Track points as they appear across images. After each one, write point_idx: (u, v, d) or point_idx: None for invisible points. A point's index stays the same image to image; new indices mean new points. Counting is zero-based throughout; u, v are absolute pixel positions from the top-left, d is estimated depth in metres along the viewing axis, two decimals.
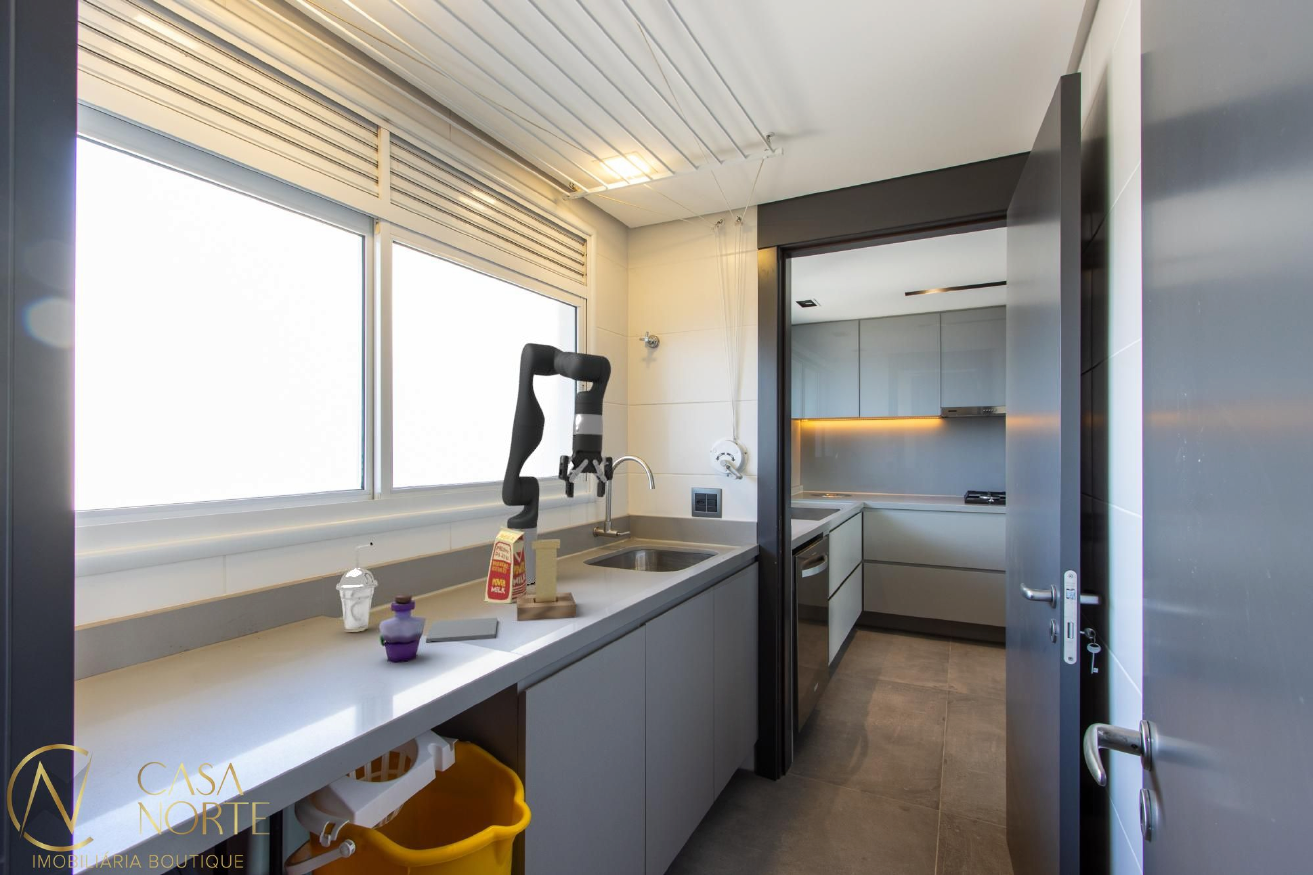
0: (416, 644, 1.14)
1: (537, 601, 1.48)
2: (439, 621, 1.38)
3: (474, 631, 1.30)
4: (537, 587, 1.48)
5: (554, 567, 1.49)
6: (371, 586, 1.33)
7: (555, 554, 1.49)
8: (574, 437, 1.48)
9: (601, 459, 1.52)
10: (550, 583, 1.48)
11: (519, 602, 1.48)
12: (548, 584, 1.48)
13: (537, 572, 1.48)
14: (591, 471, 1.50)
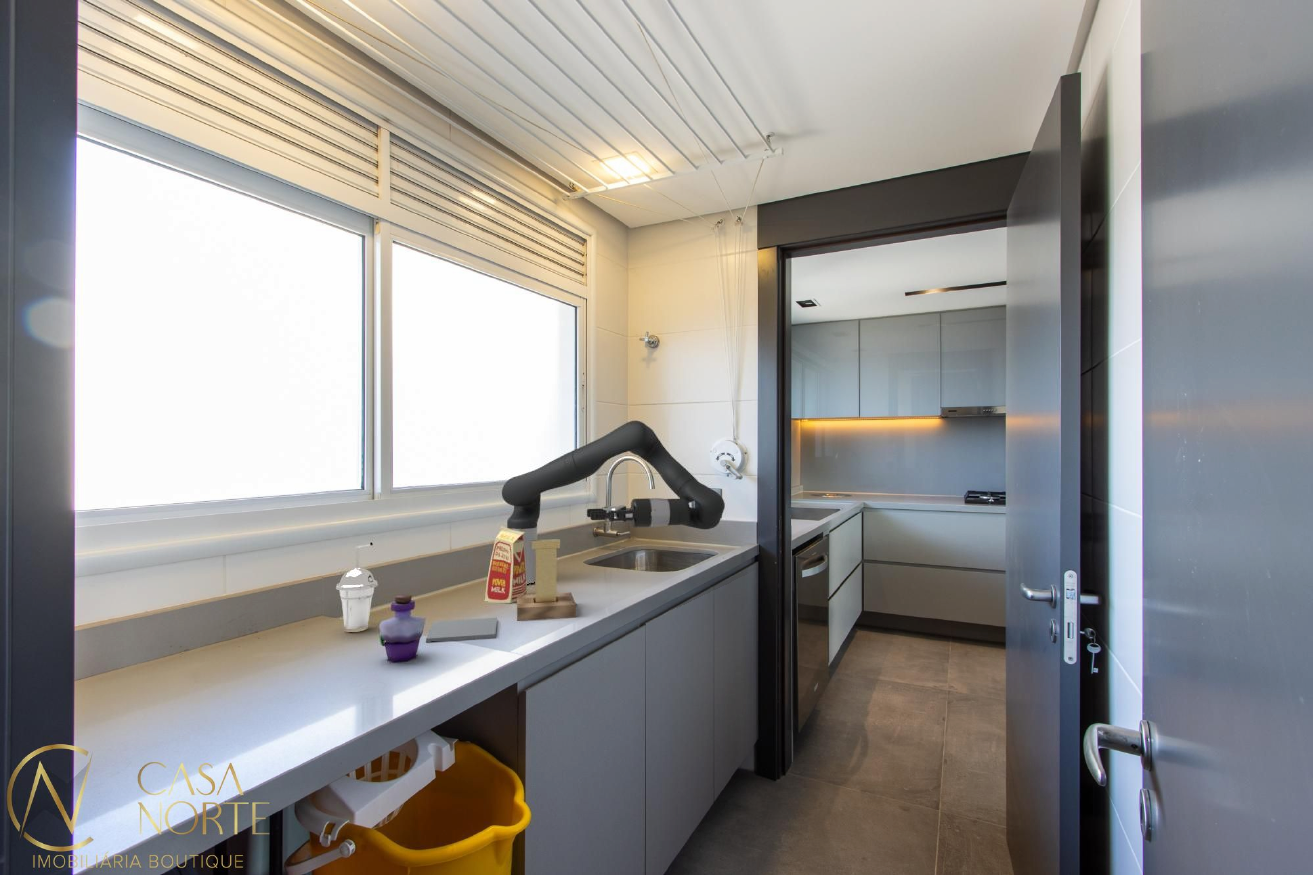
0: (416, 644, 1.14)
1: (537, 601, 1.48)
2: (439, 621, 1.38)
3: (474, 631, 1.30)
4: (537, 587, 1.48)
5: (554, 567, 1.49)
6: (371, 586, 1.33)
7: (555, 554, 1.49)
8: (648, 514, 1.53)
9: None
10: (550, 583, 1.48)
11: (519, 602, 1.48)
12: (548, 584, 1.48)
13: (537, 572, 1.48)
14: None
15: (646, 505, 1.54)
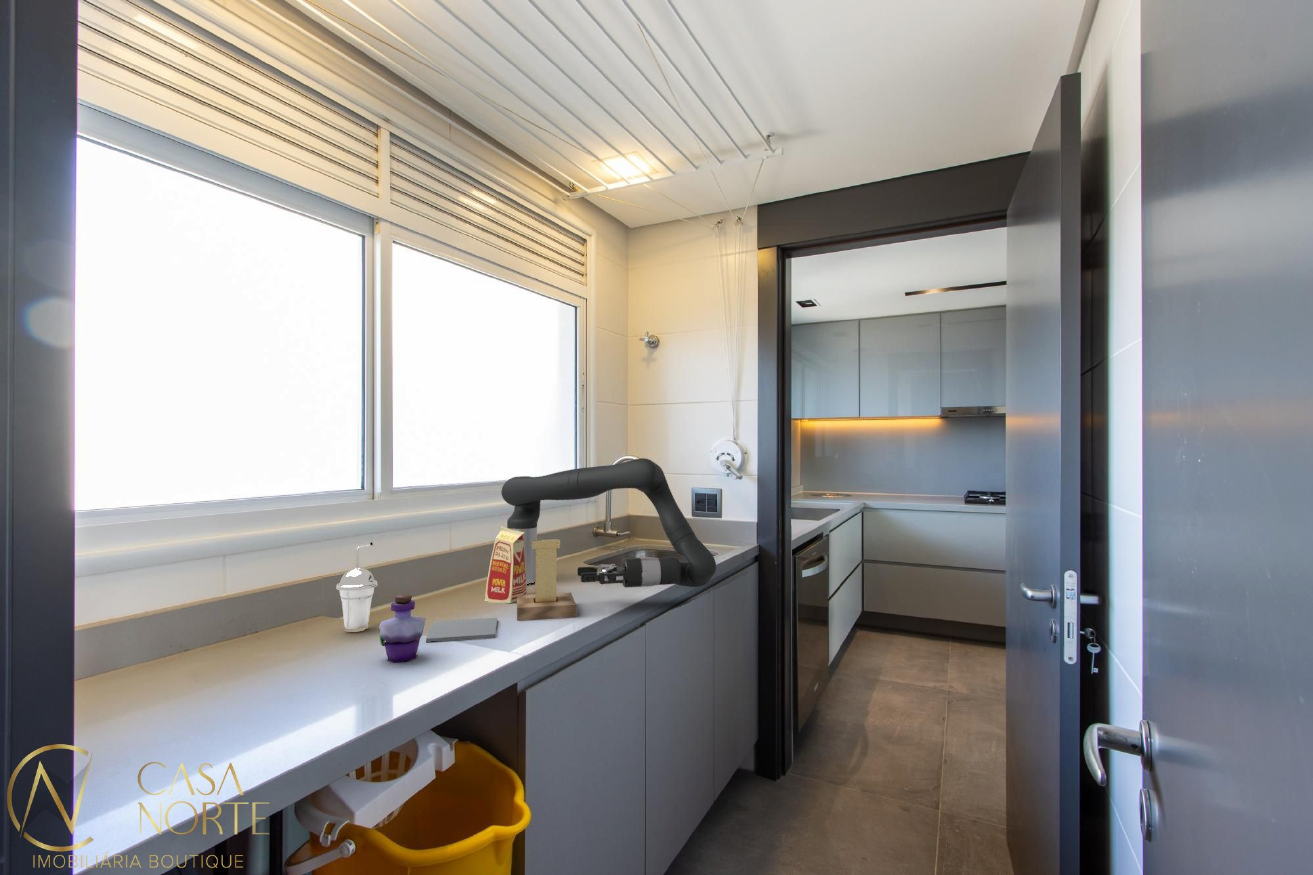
0: (416, 644, 1.14)
1: (537, 601, 1.48)
2: (439, 621, 1.38)
3: (474, 631, 1.30)
4: (537, 587, 1.48)
5: (554, 567, 1.49)
6: (371, 586, 1.33)
7: (555, 554, 1.49)
8: (639, 575, 1.53)
9: None
10: (550, 583, 1.48)
11: (519, 602, 1.48)
12: (548, 584, 1.48)
13: (537, 572, 1.48)
14: None
15: (637, 566, 1.53)
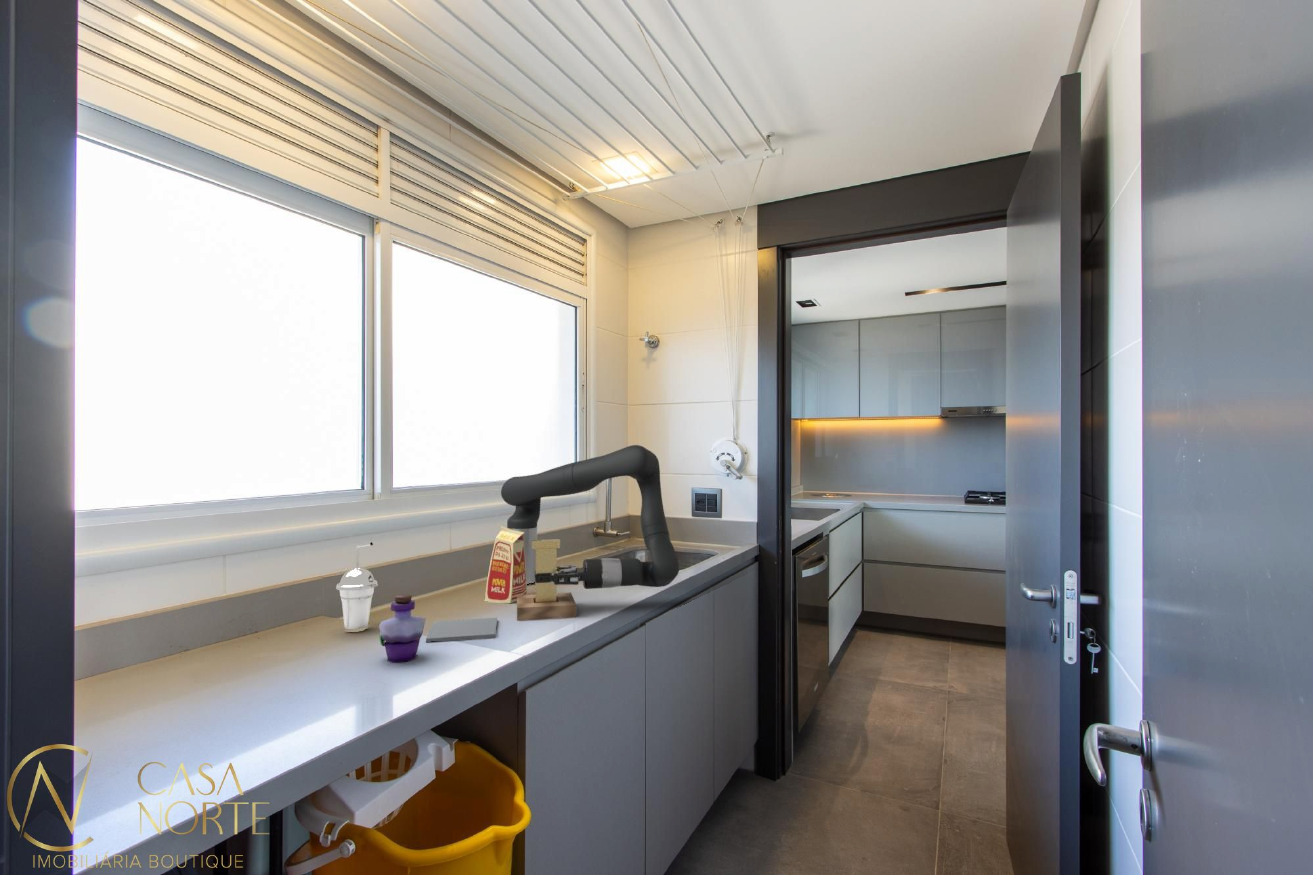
0: (416, 644, 1.14)
1: (537, 601, 1.48)
2: (439, 621, 1.38)
3: (474, 631, 1.30)
4: (537, 587, 1.48)
5: (554, 567, 1.49)
6: (371, 586, 1.33)
7: (555, 554, 1.49)
8: (599, 576, 1.50)
9: None
10: (550, 583, 1.48)
11: (519, 602, 1.48)
12: (548, 584, 1.48)
13: (537, 572, 1.48)
14: None
15: (597, 567, 1.51)
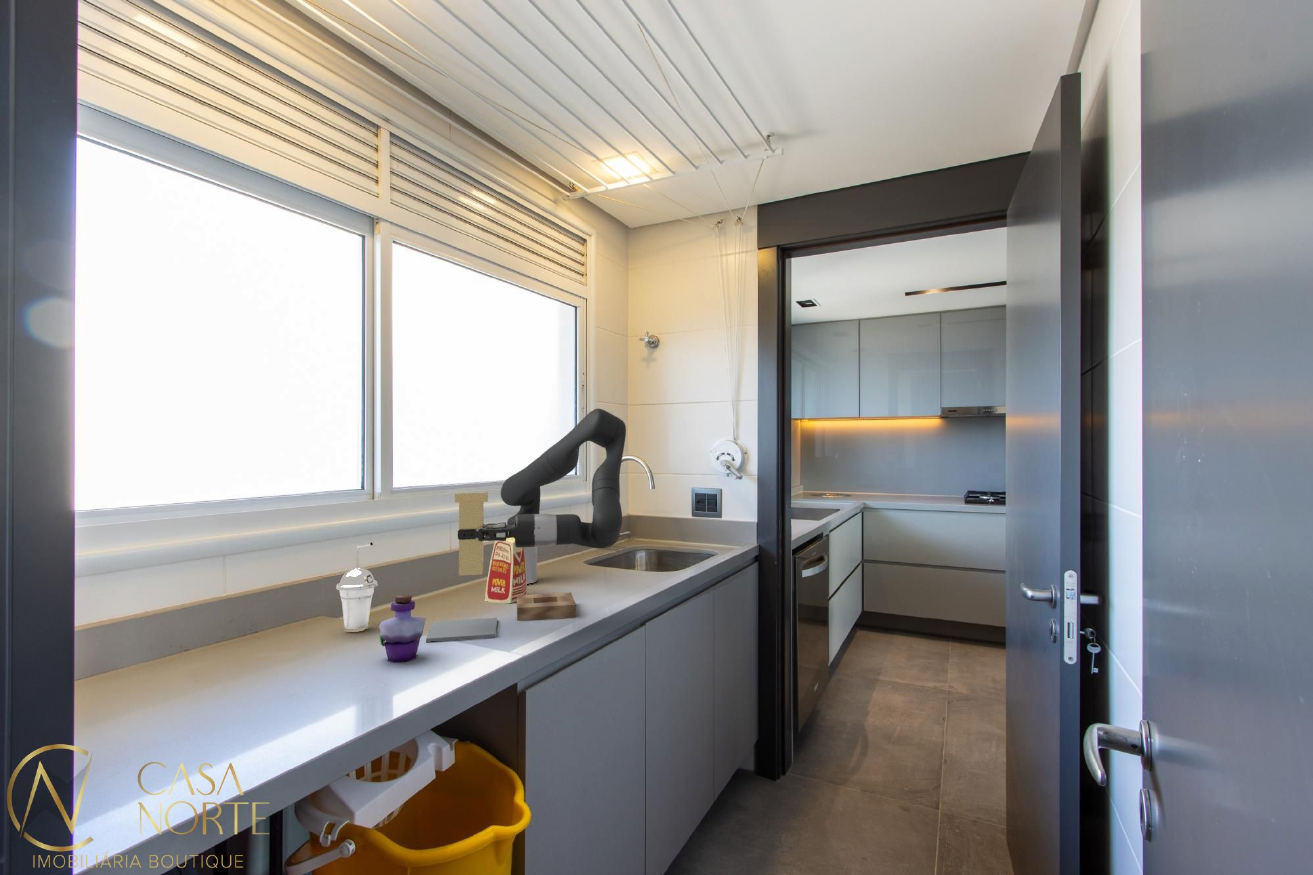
0: (416, 644, 1.14)
1: (460, 560, 1.32)
2: (439, 621, 1.38)
3: (474, 631, 1.30)
4: (460, 545, 1.32)
5: (480, 522, 1.33)
6: (371, 586, 1.33)
7: (481, 508, 1.33)
8: (530, 532, 1.34)
9: None
10: (475, 540, 1.33)
11: (519, 602, 1.48)
12: (473, 541, 1.33)
13: (460, 528, 1.32)
14: None
15: (529, 522, 1.35)
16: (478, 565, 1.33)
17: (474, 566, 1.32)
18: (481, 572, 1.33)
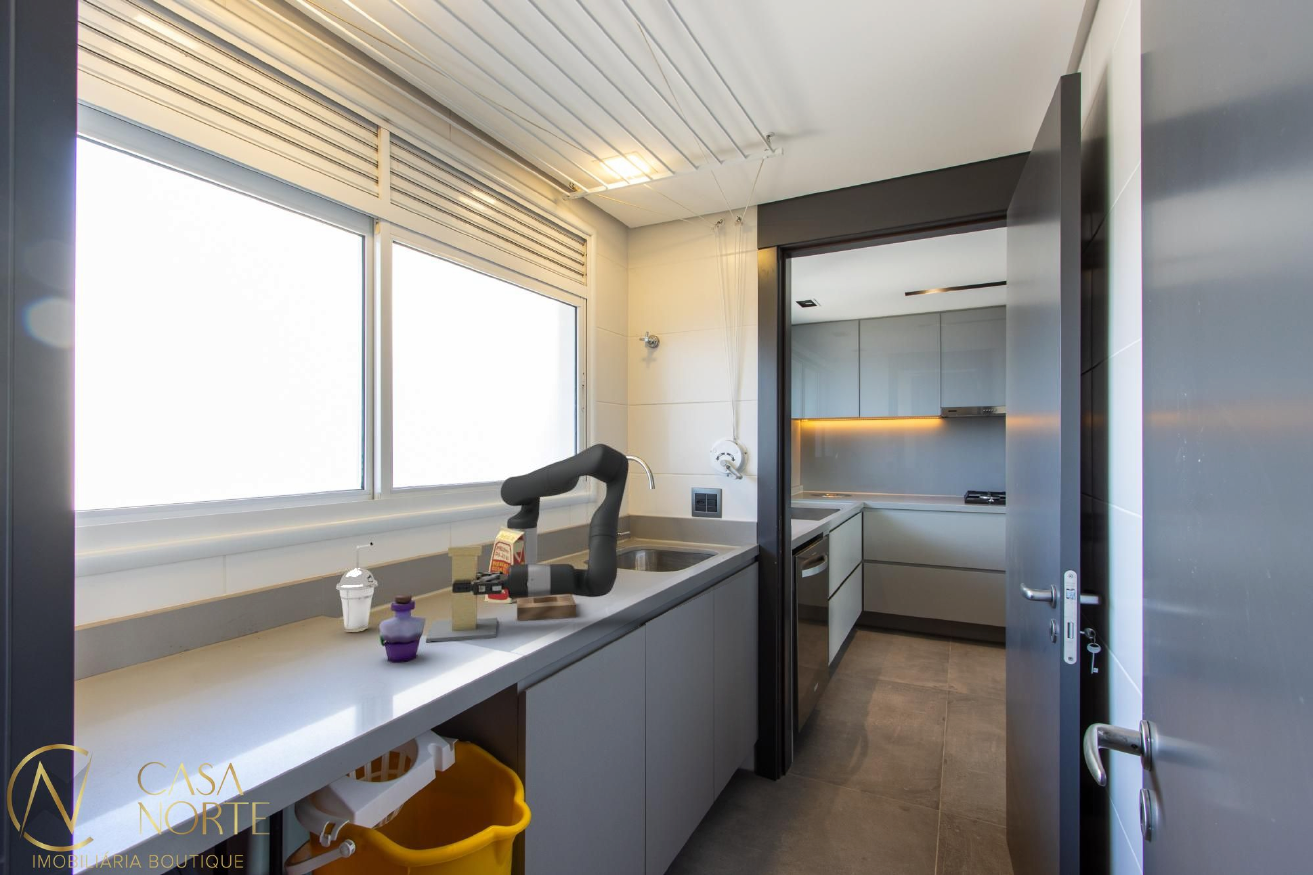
0: (416, 644, 1.14)
1: (453, 615, 1.31)
2: (439, 621, 1.38)
3: (474, 631, 1.30)
4: (453, 600, 1.31)
5: (473, 577, 1.32)
6: (371, 586, 1.33)
7: (474, 562, 1.32)
8: (524, 584, 1.33)
9: None
10: (468, 595, 1.32)
11: (519, 602, 1.48)
12: (466, 596, 1.31)
13: None
14: None
15: (522, 574, 1.34)
16: (471, 620, 1.31)
17: (467, 621, 1.31)
18: (474, 627, 1.32)
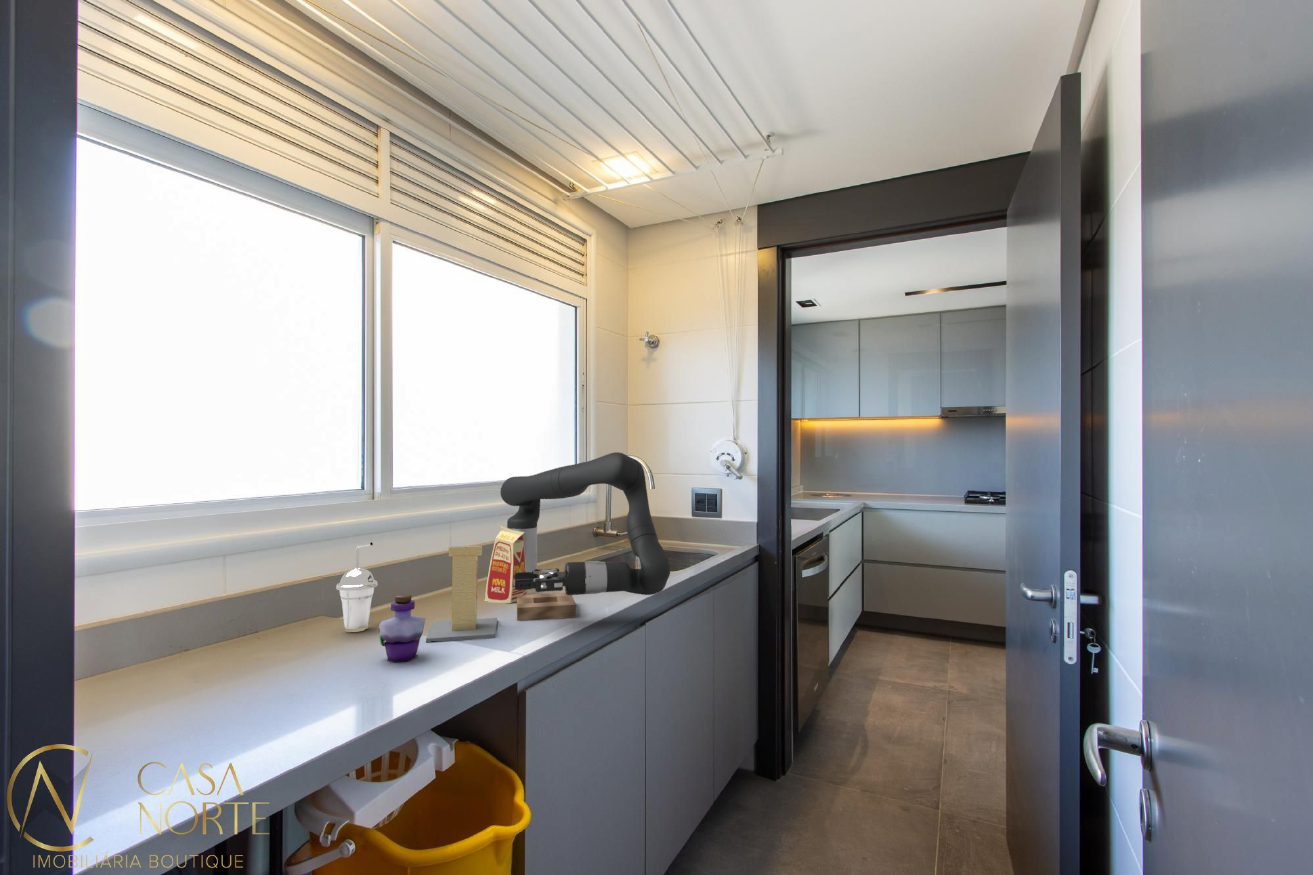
0: (416, 644, 1.14)
1: (453, 615, 1.31)
2: (439, 621, 1.38)
3: (474, 631, 1.30)
4: (453, 600, 1.31)
5: (473, 577, 1.32)
6: (371, 586, 1.33)
7: (474, 562, 1.32)
8: (582, 581, 1.36)
9: None
10: (468, 595, 1.32)
11: (519, 602, 1.48)
12: (466, 596, 1.31)
13: (453, 583, 1.31)
14: None
15: (580, 571, 1.37)
16: (471, 620, 1.31)
17: (467, 621, 1.31)
18: (474, 627, 1.32)
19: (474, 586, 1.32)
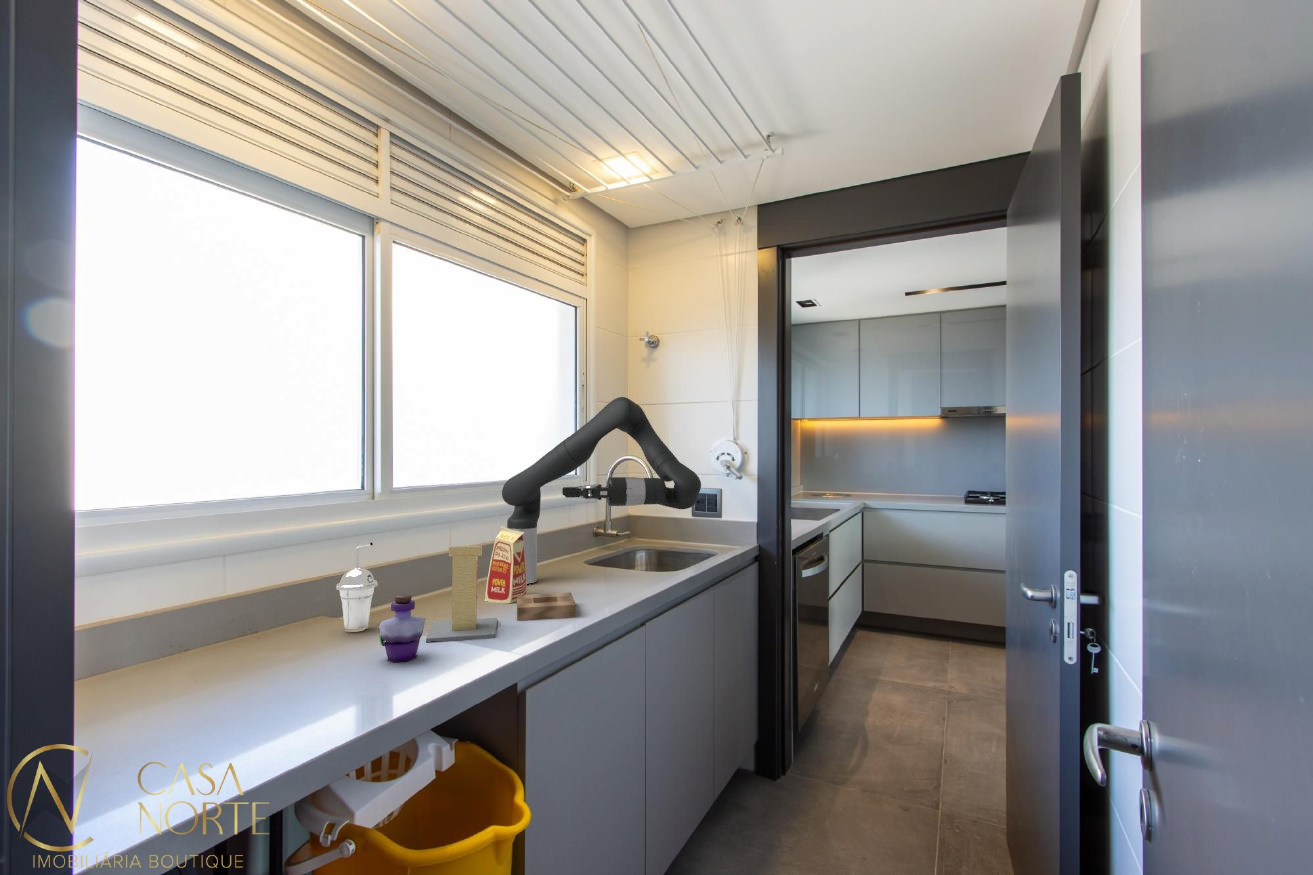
0: (416, 644, 1.14)
1: (453, 615, 1.31)
2: (439, 621, 1.38)
3: (474, 631, 1.30)
4: (453, 600, 1.31)
5: (473, 577, 1.32)
6: (371, 586, 1.33)
7: (474, 562, 1.32)
8: (623, 492, 1.53)
9: None
10: (468, 595, 1.32)
11: (519, 602, 1.48)
12: (466, 596, 1.31)
13: (453, 583, 1.31)
14: None
15: (621, 483, 1.53)
16: (471, 620, 1.31)
17: (467, 621, 1.31)
18: (474, 627, 1.32)
19: (474, 586, 1.32)
